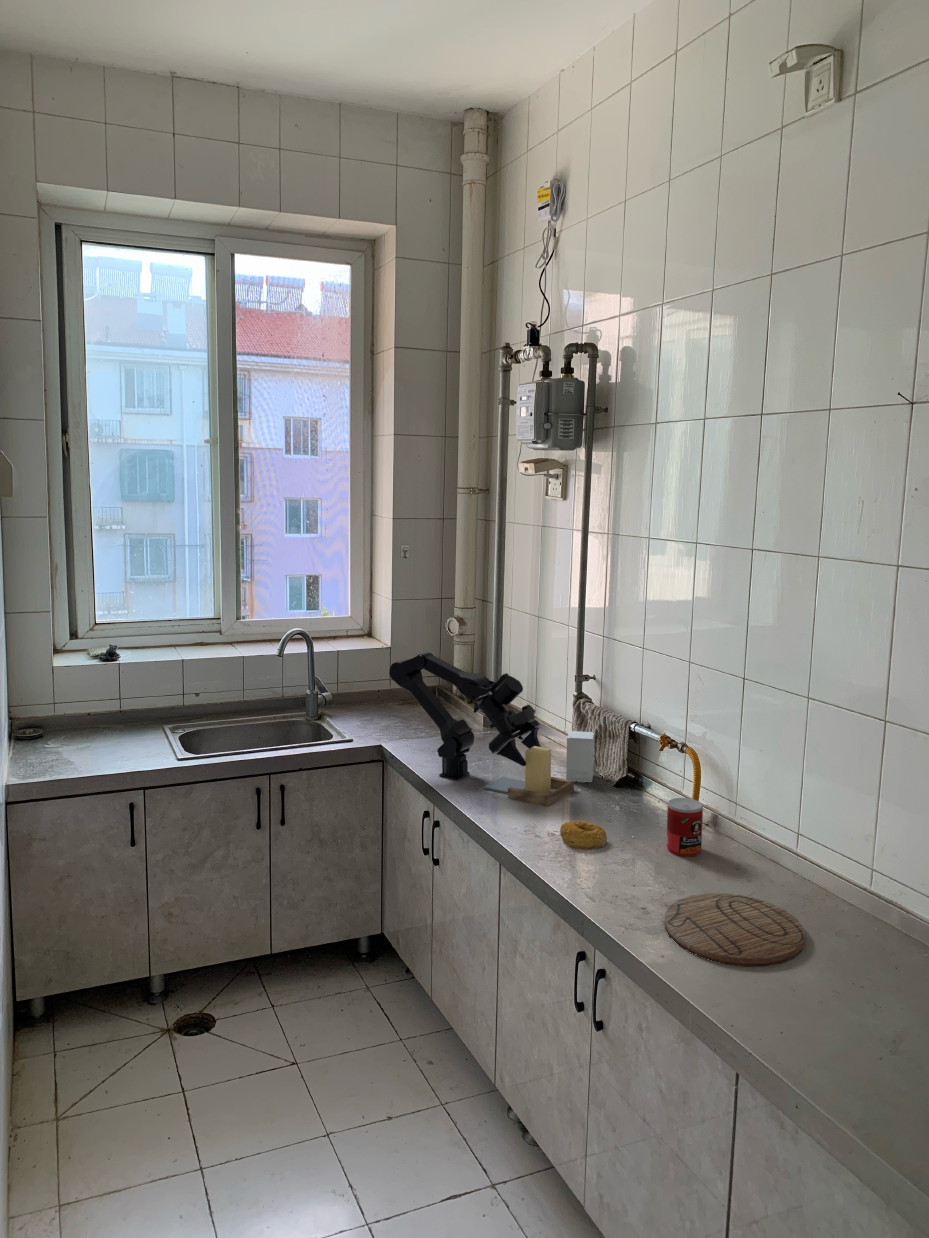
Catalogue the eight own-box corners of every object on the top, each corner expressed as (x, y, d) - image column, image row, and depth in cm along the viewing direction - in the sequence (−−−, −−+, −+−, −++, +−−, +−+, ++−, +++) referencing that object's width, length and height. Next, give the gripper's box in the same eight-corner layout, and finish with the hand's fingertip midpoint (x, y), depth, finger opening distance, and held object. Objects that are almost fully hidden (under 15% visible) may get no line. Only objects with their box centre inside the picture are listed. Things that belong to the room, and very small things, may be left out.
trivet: (722, 981, 156) (723, 970, 155) (638, 917, 178) (638, 907, 178) (835, 950, 165) (835, 940, 165) (741, 892, 188) (741, 884, 188)
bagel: (597, 854, 207) (597, 834, 206) (552, 845, 212) (552, 825, 212) (613, 840, 215) (614, 820, 214) (570, 831, 221) (570, 812, 220)
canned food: (682, 859, 203) (683, 812, 202) (658, 846, 210) (660, 800, 209) (708, 853, 207) (710, 806, 205) (685, 840, 214) (686, 795, 212)
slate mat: (483, 788, 250) (483, 786, 250) (502, 778, 258) (502, 776, 258) (515, 795, 244) (515, 793, 244) (534, 785, 252) (534, 782, 252)
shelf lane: (507, 797, 243) (507, 788, 243) (534, 782, 255) (534, 773, 254) (548, 806, 236) (548, 796, 236) (573, 790, 248) (573, 781, 248)
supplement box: (592, 783, 254) (593, 739, 252) (565, 781, 255) (565, 737, 253) (594, 774, 261) (594, 731, 259) (567, 773, 262) (568, 730, 260)
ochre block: (525, 794, 245) (525, 750, 244) (534, 788, 250) (534, 746, 248) (541, 797, 243) (541, 753, 241) (550, 792, 247) (551, 748, 245)
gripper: (498, 704, 238) (535, 752, 234) (533, 690, 254) (569, 734, 249) (472, 729, 244) (509, 776, 239) (509, 714, 259) (543, 758, 255)
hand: (533, 760), depth 245 cm, fingers open, 9 cm apart
